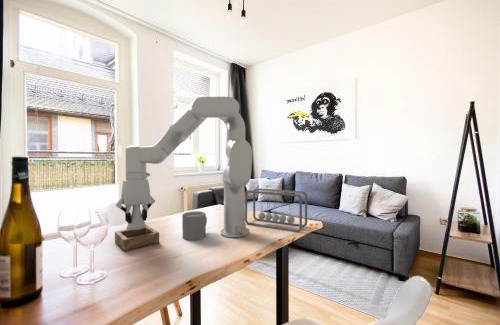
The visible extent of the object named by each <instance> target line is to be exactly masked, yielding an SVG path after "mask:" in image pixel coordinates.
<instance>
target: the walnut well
mask: <svg viewBox="0 0 500 325" xmlns="http://www.w3.org/2000/svg"><path fill="white" fill-rule="evenodd" d="M114 243H115V245H117V247H119V248H120V249H121V250H122V252H123V253H127V252H132V251H134V250H135V251H136V250H139V249H143V248H146V247H150V246H155V245H159V244H160V232H159V231H157V230H155V229H154V228H153V227H151V226H150V225H149V226H148V225H146V227H145V228H143V229H140V230H127V229H124V230H123V229H122V230H118V231H114Z"/></svg>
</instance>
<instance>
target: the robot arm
mask: <svg viewBox="0 0 500 325" xmlns="http://www.w3.org/2000/svg"><path fill="white" fill-rule="evenodd" d="M208 118H210V119H211V118H218V119H219V120H221V121H222V122H223V123H224V125H225V127H226V128H225V129H226V144H225V155H226V157H227V159H228V160H229V165H227V166H226V167H225V168H224V170H223V172H222V183H223V228H222V229H221V230H220V235H222V236H224V238H225V237H226V238H240V237H242V238H243V237H245V236H247V235H248V234H249V232H250V229H249V228H248V227H247V224H246V222H245V193H246V190H245V187H246V186H247V185H248V183H249V182H250V180H251V177H252V164H253V151H252V149H253V148H252V147H251V144H250V143H249V141H247V140H246V124H245V120H244V119H243V118H244V117H242V115H241V113H240V104H239V102H238V100H237V99H235V97H232V96H199V97H196V98H194V100H193V101H192V102H191V104H190V105H189V106H188V108H186V109H185V110H184V111H183V112H182V114H180V115H179V117H177V118H176V119H175V120H174V121H173V123H171V125H170V126H169V127H168V129H167V131H166V132H165V133H164V135H162V137H161V138H160V139H159V140H158V141H157V142H156V143H155V144H154V145H149V146H148V145H147V146H143V145H129V146H126V148H125V179H123V180H122V186H121V193H120V194H121V197H120V199H119V200H118V201H117V203H116V204H115V206H116V208H118V209H120V210H121V211H123V212H124V215H125V216H124V219H125V221H124V222H126V223H127V224H128V223H131V215H132V212H130V210H131V208H132V207H133V206H132V205H140V204H141V205H140V206H142V210H141V214H142V216H143V220H144V221H147V218H148V211H149V209H150V208H151V206H152V205H153V204H155V202H156V199H155V198H154V197H153V196H152V195H151V188H150V183H149V182H150V181H149V179H147V178H148V177H150V176H151V174H150V172H147V164H151V165H152V164H153V165H159V164H162V163H163V162H164V161H165V160H166V159H167V158H168V157H169V156H170V155H171V154H172V153H173V152H174V151H176V149H177V148H178V147H179V146H180V145H181V144H182V143H184V142H185V141H186V140H187V139H188V138H189V137H190V136H191V135H193V134H194V132H195V131H196V130H197V129H198V128H199V127H200V125H202V124H203V123H204V122H205V121H206V120H207V119H208ZM122 204H123V205H125V206H123V205H122Z"/></svg>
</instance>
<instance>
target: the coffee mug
mask: <svg viewBox="0 0 500 325" xmlns="http://www.w3.org/2000/svg"><path fill="white" fill-rule="evenodd" d="M181 215H182V221H181V223H182V239H183V240H186V241H199V240H202V239H205V238H206V236H207V235H206V234H207V230H206V229H207V226H206V225H207V223H208V222H207V221H208V220H207V219H208V217H207V215H206V212H204V211H199V210H198V211H197V210H195V211H193V210H192V211H187V212H184V213H182V214H181Z"/></svg>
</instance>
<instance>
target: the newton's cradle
mask: <svg viewBox="0 0 500 325" xmlns="http://www.w3.org/2000/svg"><path fill="white" fill-rule="evenodd" d="M249 193H250V194H252V200H253V201H252V206H253V207H252V210H253V211H252V212H253V213H252V216H253V219H254V220H252V221H251V222H249V221H248V194H249ZM256 194H259V195H262V197H264V196H265V195H273V196H283V197H285V196H287V198H290V197H291V198H290V201H292V197H297V198H299V211H298V212H299V216H298V218H299V223H294V222H295V217H294V216H293V215H292V214H289V216H286V215H285V214H284V213H281V214H280V215H279V214H277V213H276V212H274V213H273V214H272V213H270V212H267V213H265V212H263V210H260V212H258V215H257V216H258V218H257V217H256ZM301 195H304V223H303V198H302V196H301ZM259 199H260V201H259V202H260V203H259V204H261V209H263V208H264V207H263V205H264V203H261V202H262V201H261V200H262V199H261V198H259ZM270 201H271V200H269V201H266V204H267V207H269V206H270ZM280 201H281V202H280V203H281V206H282V207H284V205H285V201H283V202H282V199H280ZM277 202H278V199H276V204H275V202H273V205H274V208H276V205H277V204H278V203H277ZM268 203H269V204H268ZM282 204H283V205H282ZM288 208H289V209H291V204H289V207H288ZM256 221H258V222H266V223H273V224H278V225H279V224H281V225H285V226H286V225H287V226H294V227H299V228H297V229H295V228H289V227H281V226H275V225H270V224H269V225H268V224H263V223H262V224H260V223H254V222H256ZM245 224H246V225H248V226H255V227H260V228H261V227H262V228H268V229H273V230H274V229H275V230H279V231H280V230H281V231H287V232H295V233H300V232H302V230H303V229H302V228H304V227H307V225H308V194H307V193H306V192H305V191H304V190H303V191H301V190H287V189H271V188H260V187H259V188H255V189H253V190H252V189H251V190H245Z"/></svg>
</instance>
